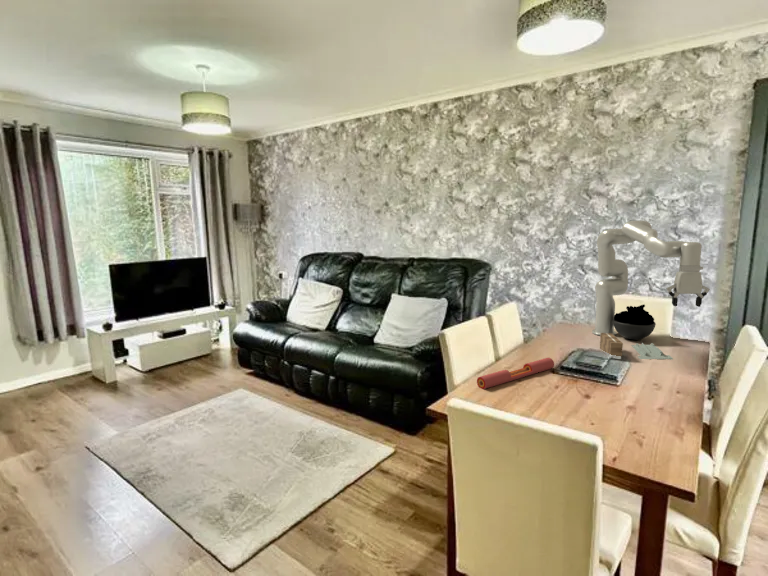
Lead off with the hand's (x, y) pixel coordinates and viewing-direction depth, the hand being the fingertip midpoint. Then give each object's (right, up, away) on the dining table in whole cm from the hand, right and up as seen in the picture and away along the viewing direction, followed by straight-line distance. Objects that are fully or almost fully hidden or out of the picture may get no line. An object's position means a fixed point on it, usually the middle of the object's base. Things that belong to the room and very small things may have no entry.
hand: (686, 306), depth 194 cm
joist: (-29, -24, +11) cm, 39 cm away
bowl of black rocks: (-4, -20, +35) cm, 40 cm away
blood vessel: (-84, -30, -17) cm, 91 cm away
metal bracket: (-13, -25, +7) cm, 29 cm away
